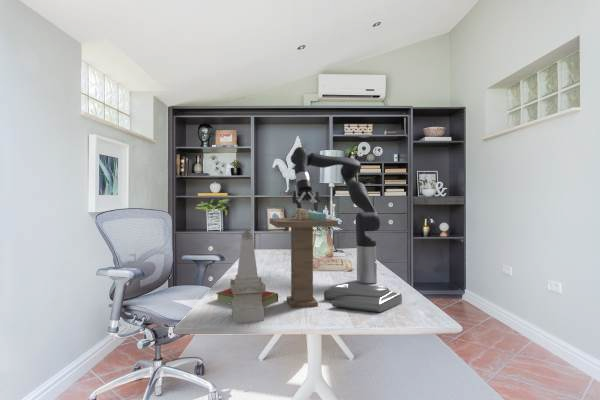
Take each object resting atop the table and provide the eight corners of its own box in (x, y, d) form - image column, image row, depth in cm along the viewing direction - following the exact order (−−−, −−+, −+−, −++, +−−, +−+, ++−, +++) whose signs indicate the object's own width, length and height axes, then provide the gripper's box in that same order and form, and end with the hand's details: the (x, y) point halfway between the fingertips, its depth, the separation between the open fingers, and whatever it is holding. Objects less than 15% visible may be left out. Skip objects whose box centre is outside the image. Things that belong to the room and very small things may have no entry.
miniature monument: (265, 321, 113) (265, 229, 113) (233, 324, 110) (232, 230, 110) (260, 311, 123) (260, 227, 123) (230, 313, 120) (230, 227, 120)
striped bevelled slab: (339, 301, 117) (318, 282, 144) (339, 317, 117) (318, 295, 145) (414, 296, 123) (380, 278, 150) (414, 311, 123) (380, 291, 150)
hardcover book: (236, 295, 145) (236, 285, 145) (278, 302, 134) (278, 292, 134) (216, 302, 135) (216, 292, 135) (259, 311, 124) (259, 299, 124)
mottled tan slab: (300, 277, 189) (355, 275, 189) (300, 266, 189) (355, 264, 188) (301, 264, 217) (349, 262, 217) (301, 254, 217) (349, 252, 216)
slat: (302, 216, 153) (302, 210, 153) (308, 216, 153) (308, 210, 153) (317, 220, 125) (317, 213, 125) (325, 220, 126) (325, 213, 126)
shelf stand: (269, 296, 141) (269, 208, 140) (322, 293, 145) (321, 208, 145) (277, 314, 119) (276, 210, 119) (338, 310, 124) (338, 209, 123)
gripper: (313, 186, 185) (318, 213, 178) (288, 185, 180) (292, 213, 173) (318, 179, 179) (324, 207, 172) (292, 178, 174) (297, 206, 167)
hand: (308, 210), depth 173 cm, fingers open, 8 cm apart
